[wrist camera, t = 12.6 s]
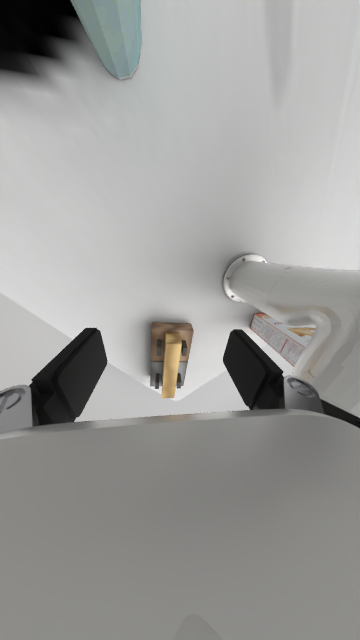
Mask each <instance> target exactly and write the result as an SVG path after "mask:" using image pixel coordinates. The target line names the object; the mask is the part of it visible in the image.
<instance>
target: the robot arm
mask: <svg viewBox="0 0 360 640" xmlns="http://www.w3.org/2000/svg"><path fill="white" fill-rule="evenodd" d="M242 259H243V260H242ZM226 278H227V279H226ZM223 288H224V291H225V293H226V295H227V296H228V297H229V298H230V299H232V300H233V301H236V302H247V303H249V304H251V305H252V306H254V307H255V308H257V309H259V310H260V311H262V312H264V313H265V314H267V315H268V316H270V317H272V318H273V319H275V320H277V321H279V322H280V323H283V324H286V325H290V326H308V325H315V324H316V329H315V331H314V333H313V335H312V336H311V339H310V341H309V343H308V344H307V346H306V348H305V349H304V351H303V353H302V354H301V356H300V358H299V360H298V361H297V363H296V365H295V367H294V369H293V372H292V376H291V375H289V376H285V377H283V376H282V373H283V371H282V370H281V369H280V368H279V367H278V366H277V365H276V364H275V363H274V362H273V361H272V360H271V358H270V357H269V356H268V355H267V354H266V353H265V352H264V351H263V350H262V349H261V348H260V347H259V346H258V345H257V344H256V343H255V342H254V341H253V340H252V339H251V338H250V337H249V336H248V335H247V334H246V333H245V332H244V331H243V330H238V329H234V330H233V331H231V333H230V336H229V339H228V343H227V346H226V349H225V353H224V356H223V363H224V365H225V366H226V368H227V370H228V372H229V374H230V376H231V378H232V380H233V382H234V384H235V386H236V388H237V389H238V391H239V393H240V395H241V397H242V399H243V401H244V403H245V404H246V405H247V406H248V407H249V409H250V410H244V411H228V412H212V413H197V414H183V415H168V416H167V415H166V416H152V417H138V418H124V419H111V420H97V421H84V422H74V421H75V419H76V417H79V416H80V414H81V413H82V411H83V409H84V407H85V405H86V403H87V401H88V399H89V397H90V396H91V394H92V392H93V390H94V388H95V386H96V384H97V382H98V380H99V378H100V376H101V375H102V373H103V371H104V369H105V367H106V365H107V357H106V353H105V349H104V345H103V341H102V336H101V332H100V330H97V328H85V329H84V330H83V331H82V332H81V333H80V334H79V335H78V336H77V337H76V338H75V339H74V340H73V341H71V343H70V344H68V345H67V346H66V347H65V348H64V349H63V350H62V351H61V352H60V353H59V354H58V355H57V356H56V357H55V358H54V359H53V360H51V361H50V362H49V363H48V364H47V365H46V366H45V367H44V368H43V369H42V370H41V371H40V372H39V373H38V374H37V375H36V376H35V377H34V378H33V379H32V381H33V382H32V383H31V384H30V385H29V386H27V385H17V386H12V387H10V388H6V389H4V390H2V391H0V640H360V270H337V269H323V268H313V267H303V266H294V265H284V264H275V263H267V261H266V260H265V259H264V258H263V257H261V256H259V255H256V254H249V255H244V256H241V257H240V258H238V259H236V260H235V261H234V262H233V263H232V264H231V265H230V266H229V268H228V269H227V271H226V273H225V276H224V280H223Z"/></svg>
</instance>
